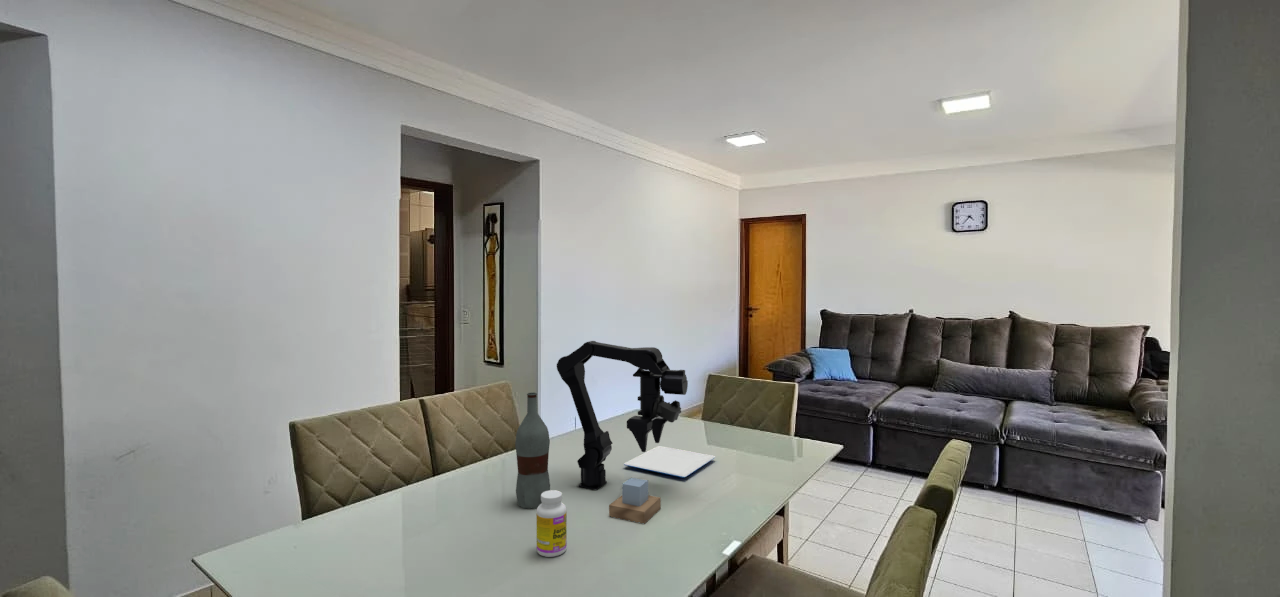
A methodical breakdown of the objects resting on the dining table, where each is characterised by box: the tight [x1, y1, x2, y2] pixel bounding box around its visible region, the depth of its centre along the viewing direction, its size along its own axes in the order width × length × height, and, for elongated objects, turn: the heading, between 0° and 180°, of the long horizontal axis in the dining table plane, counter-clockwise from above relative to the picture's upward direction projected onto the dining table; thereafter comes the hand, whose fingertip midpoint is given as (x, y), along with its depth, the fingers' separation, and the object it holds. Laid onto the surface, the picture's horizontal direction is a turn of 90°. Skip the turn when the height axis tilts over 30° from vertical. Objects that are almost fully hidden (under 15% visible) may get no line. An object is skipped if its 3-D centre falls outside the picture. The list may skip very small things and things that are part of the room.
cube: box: [621, 477, 649, 506], centre depth 143 cm, size 5×5×5 cm
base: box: [608, 494, 662, 525], centre depth 143 cm, size 10×10×3 cm
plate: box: [623, 445, 716, 479], centre depth 180 cm, size 22×22×2 cm
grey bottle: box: [514, 391, 551, 509], centre depth 149 cm, size 9×9×30 cm
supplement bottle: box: [535, 489, 568, 558], centre depth 123 cm, size 7×7×13 cm
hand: (650, 447), depth 156 cm, fingers open, 9 cm apart
